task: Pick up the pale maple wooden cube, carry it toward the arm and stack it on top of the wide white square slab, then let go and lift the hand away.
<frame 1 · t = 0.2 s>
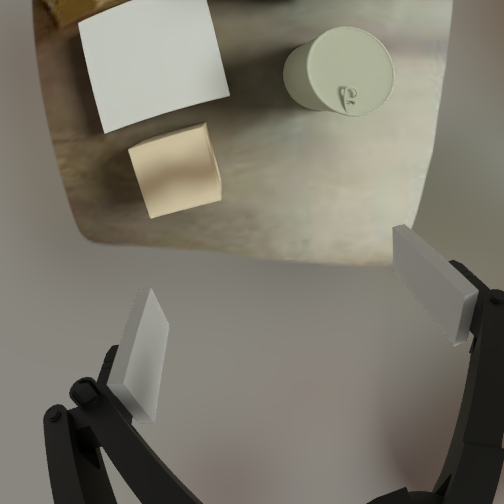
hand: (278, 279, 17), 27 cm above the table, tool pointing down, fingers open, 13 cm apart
can: (318, 76, 36), on the table
white square slab: (156, 57, 33), on the table
maple cube: (183, 159, 39), on the table
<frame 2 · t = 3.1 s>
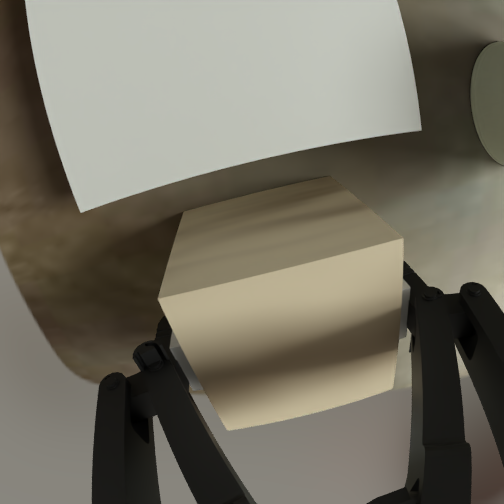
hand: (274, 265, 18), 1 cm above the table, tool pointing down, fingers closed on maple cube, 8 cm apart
white square slab: (210, 9, 12), on the table
maple cube: (272, 258, 19), on the table, touching gripper
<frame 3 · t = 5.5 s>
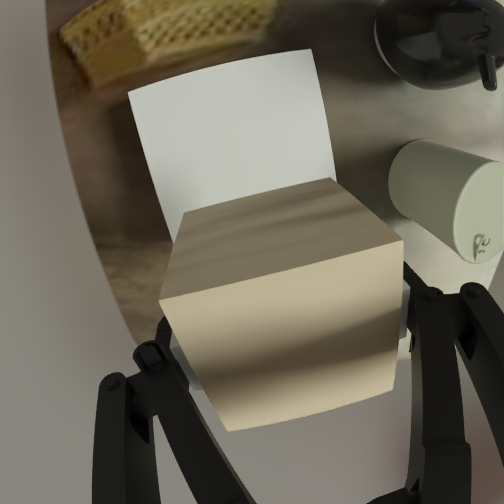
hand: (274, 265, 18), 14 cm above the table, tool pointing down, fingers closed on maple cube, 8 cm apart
can: (421, 179, 32), on the table
white square slab: (238, 147, 29), on the table
pump dispenser: (402, 45, 25), on the table
maple cube: (272, 259, 19), point 14 cm above the table, touching gripper
when the fingers open (6 cm above the table, at t = 8.3 s): maple cube stays where it is, resting on white square slab.
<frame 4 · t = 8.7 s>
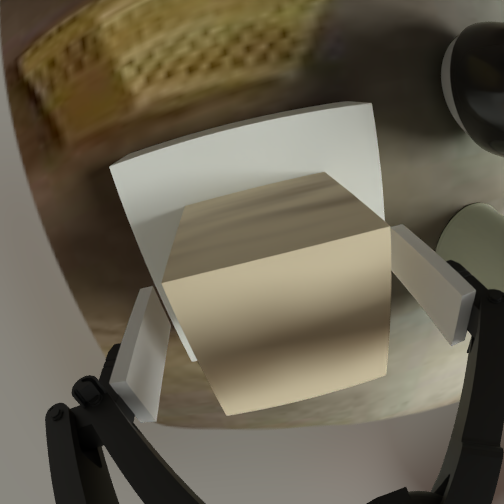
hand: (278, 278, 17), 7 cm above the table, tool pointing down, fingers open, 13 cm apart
can: (468, 246, 26), on the table
white square slab: (262, 225, 23), on the table
pump dispenser: (466, 86, 19), on the table
maple cube: (270, 250, 19), point 4 cm above the table, touching white square slab
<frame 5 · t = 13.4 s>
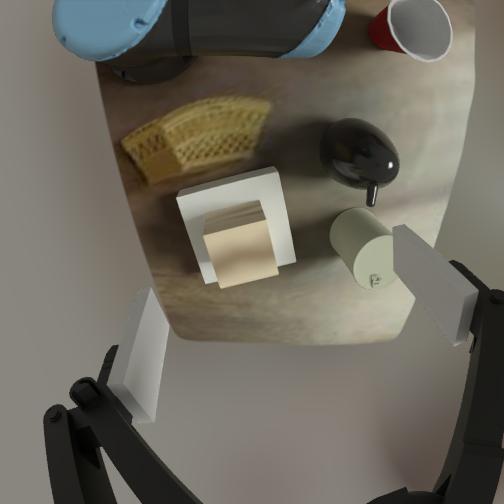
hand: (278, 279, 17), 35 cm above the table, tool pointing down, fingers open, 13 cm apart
can: (353, 231, 55), on the table
white square slab: (238, 221, 52), on the table
pump dispenser: (343, 148, 48), on the table
plastic cup: (383, 35, 40), on the table
maple cube: (239, 231, 49), point 4 cm above the table, touching white square slab
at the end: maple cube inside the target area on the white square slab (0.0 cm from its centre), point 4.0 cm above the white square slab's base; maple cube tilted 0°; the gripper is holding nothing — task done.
